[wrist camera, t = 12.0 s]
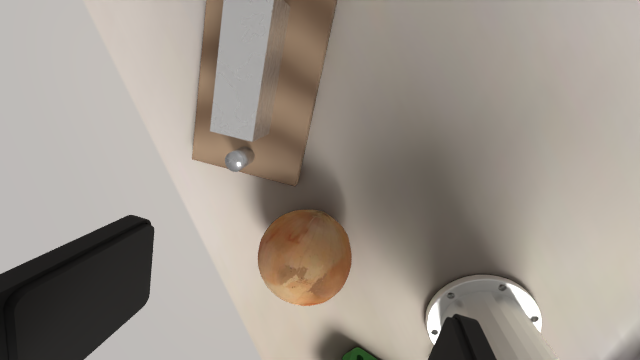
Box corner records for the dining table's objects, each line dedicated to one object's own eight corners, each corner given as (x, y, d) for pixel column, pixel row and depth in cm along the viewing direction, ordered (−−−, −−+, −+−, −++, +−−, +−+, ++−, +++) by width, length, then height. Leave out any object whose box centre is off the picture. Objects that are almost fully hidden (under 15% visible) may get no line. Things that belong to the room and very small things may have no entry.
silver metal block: (290, 7, 28) (275, -10, 23) (268, 133, 31) (252, 141, 27) (248, -2, 28) (225, -21, 23) (232, 124, 32) (209, 131, 27)
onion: (268, 261, 38) (237, 319, 28) (277, 188, 35) (246, 225, 25) (344, 277, 37) (338, 343, 28) (360, 204, 34) (359, 249, 24)
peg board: (298, 182, 34) (288, 195, 30) (198, 156, 35) (176, 165, 31) (345, -41, 27) (342, -65, 23) (221, -68, 28) (195, -96, 24)
